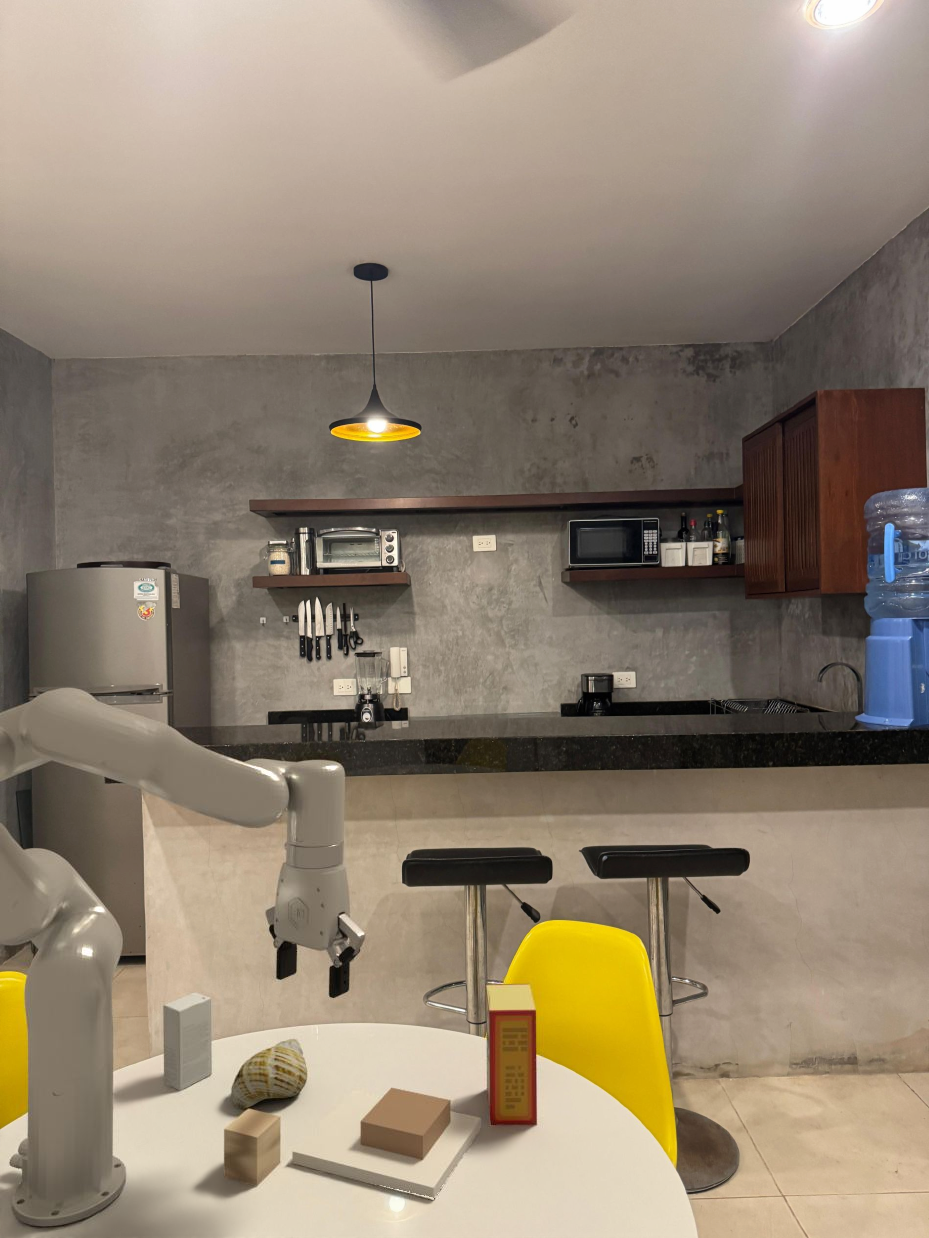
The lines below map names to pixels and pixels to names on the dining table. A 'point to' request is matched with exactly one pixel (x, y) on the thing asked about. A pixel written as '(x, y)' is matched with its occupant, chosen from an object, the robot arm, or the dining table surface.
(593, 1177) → the dining table surface
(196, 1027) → the skincare box
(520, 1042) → the baking soda box
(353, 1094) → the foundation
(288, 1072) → the seashell
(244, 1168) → the oak block
